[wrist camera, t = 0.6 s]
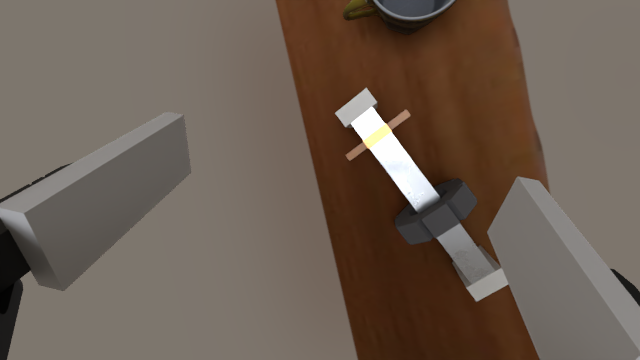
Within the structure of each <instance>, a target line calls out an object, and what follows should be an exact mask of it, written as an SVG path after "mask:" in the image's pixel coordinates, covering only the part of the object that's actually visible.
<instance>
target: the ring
mask: <svg viewBox="0 0 640 360" xmlns="http://www.w3.org/2000/svg"><path fill="white" fill-rule="evenodd" d="M434 190H435V191H436V192H437V194H438V195H439V196H440V198H441V199H440V201H439V202H437V203H436V204H434V205H433V206H431V207H430V208H428V209H427V210H425V211H424V212H422V213H419V214H418V212H417V211H416V210H415V208H414V207H413V206H412V204H408V205H407V206H406V207H405V208H404V209H403V210H402V211H401V213H400V214H399V215H398V216H397V217H396V219H395V220H394V221H395V226H396V228H397V229H398V231H399V232H400V233H401V235H402V236H403V237H404V239H405V240H406V241H407V243H408V244H409V243H410V244H411V245H412V244H417V243H422V242H427V241H430V240H431V239H432V238H433V236H434V237H435V239H436V238H437V237H439V236H440V235H442V234H444V233H445V232H447V231H448V230H450V229H452V228H453V227H455V226H456V225H458V224H460V221H459V220H463V219H466V217H467V216H468V215H469V213H470V212H471V211H472V209H473V208H474V206H475V205H476V204H477V202H476V201H477V199H476V197H475V196H474V195H473V193H472V192H471V191H470V189H469V188H468V187H467V185H466V184H465V183H464V182H463V181H461V180H460V179H458V178H457V179H452V180H450V181H447V182H444V183H442V184H439V185H437V186H435V187H434Z"/></svg>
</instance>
